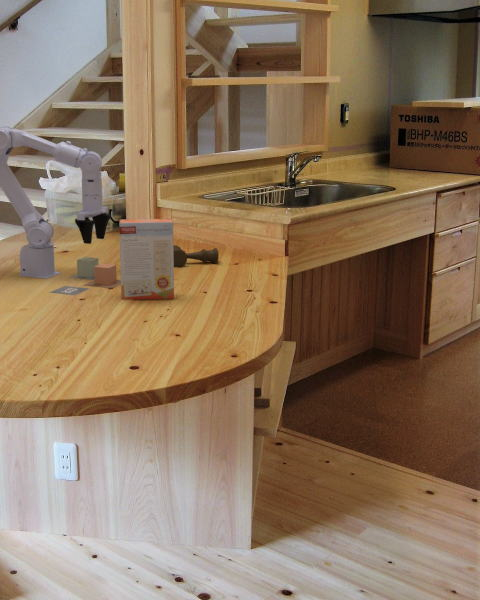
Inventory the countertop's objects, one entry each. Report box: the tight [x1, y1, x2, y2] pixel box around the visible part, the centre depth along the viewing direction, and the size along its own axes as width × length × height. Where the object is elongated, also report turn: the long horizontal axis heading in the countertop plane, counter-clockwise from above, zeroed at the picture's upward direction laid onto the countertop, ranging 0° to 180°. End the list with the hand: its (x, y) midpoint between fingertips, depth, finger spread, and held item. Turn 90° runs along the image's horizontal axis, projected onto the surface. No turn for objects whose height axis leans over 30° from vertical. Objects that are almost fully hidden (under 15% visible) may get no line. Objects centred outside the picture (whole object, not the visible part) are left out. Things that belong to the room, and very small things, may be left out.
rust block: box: [94, 263, 118, 285], centre depth 224 cm, size 4×4×5 cm
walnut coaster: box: [84, 279, 121, 289], centre depth 224 cm, size 9×9×1 cm
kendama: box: [173, 244, 220, 268], centre depth 251 cm, size 6×10×20 cm
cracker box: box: [118, 218, 175, 301], centre depth 209 cm, size 14×6×21 cm, turn 97°
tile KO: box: [48, 285, 90, 296], centre depth 216 cm, size 8×8×1 cm
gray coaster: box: [69, 274, 95, 281], centre depth 233 cm, size 8×8×1 cm
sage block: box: [76, 256, 100, 278], centre depth 232 cm, size 4×4×5 cm
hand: (94, 241), depth 231 cm, fingers open, 7 cm apart
